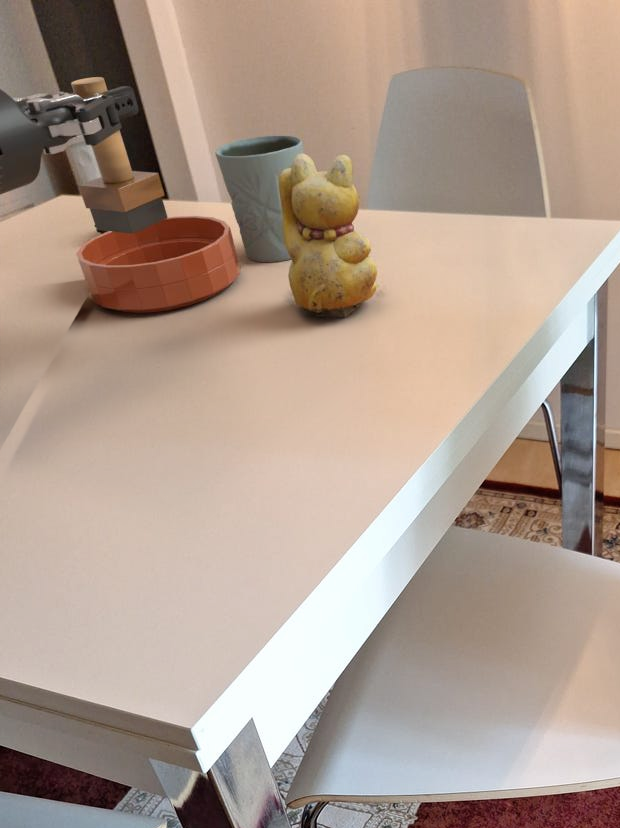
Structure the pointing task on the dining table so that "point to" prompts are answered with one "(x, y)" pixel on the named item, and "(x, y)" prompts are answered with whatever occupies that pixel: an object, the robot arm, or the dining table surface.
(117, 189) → the wooden rod on block
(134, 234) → the bowl
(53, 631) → the dining table surface
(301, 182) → the decorative figurine
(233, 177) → the grey-blue cup
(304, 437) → the dining table surface
